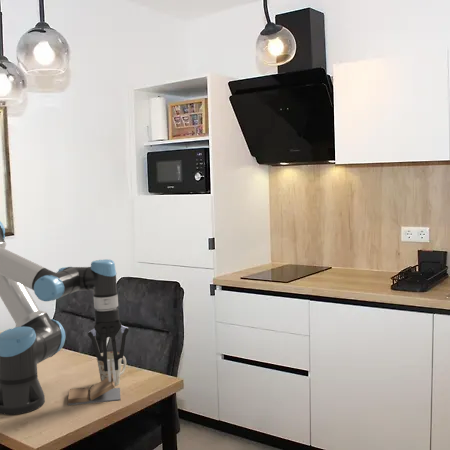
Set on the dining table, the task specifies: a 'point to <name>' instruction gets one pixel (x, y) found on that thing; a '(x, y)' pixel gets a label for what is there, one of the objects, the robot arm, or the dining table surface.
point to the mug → (117, 372)
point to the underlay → (104, 397)
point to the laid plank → (79, 395)
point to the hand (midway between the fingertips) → (112, 380)
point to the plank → (101, 388)
